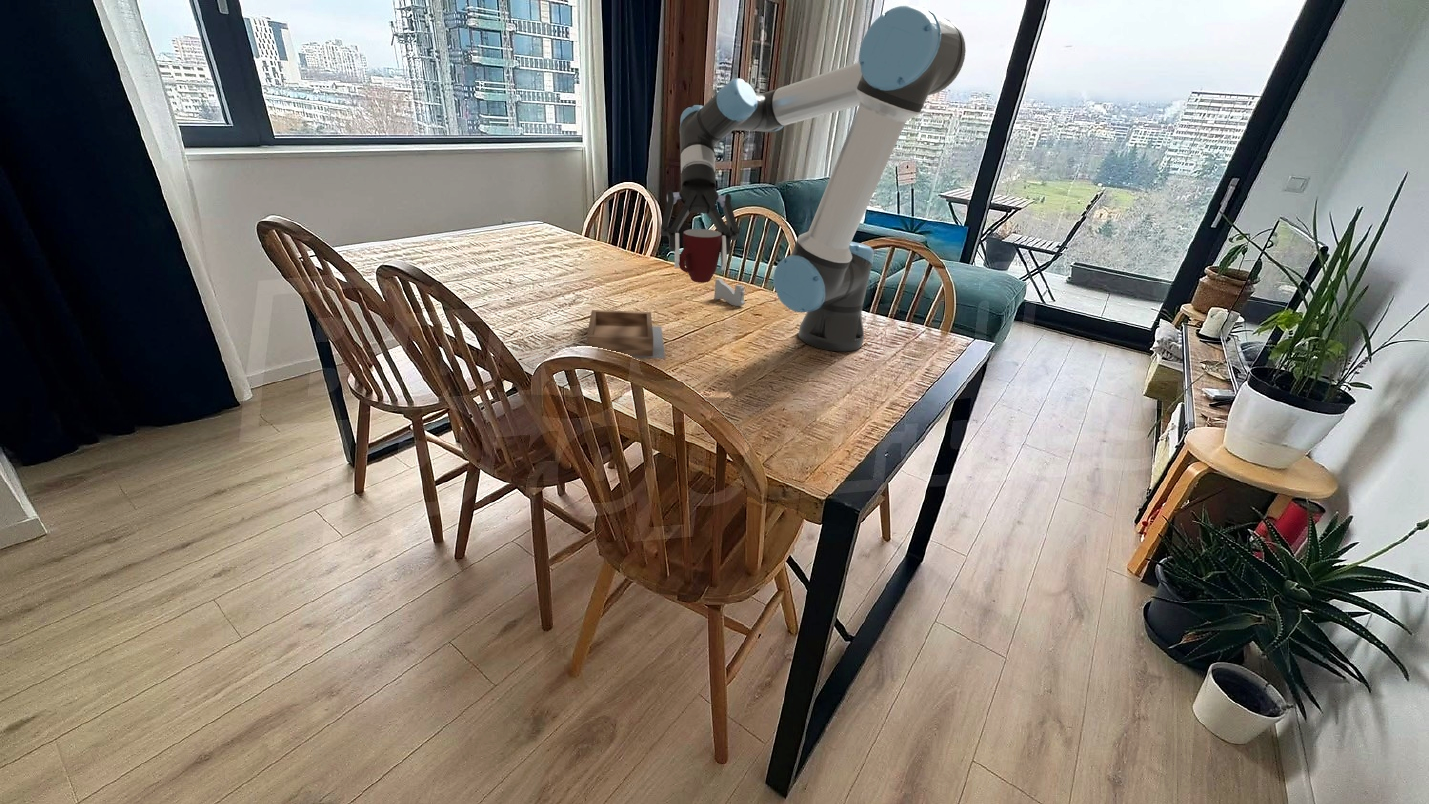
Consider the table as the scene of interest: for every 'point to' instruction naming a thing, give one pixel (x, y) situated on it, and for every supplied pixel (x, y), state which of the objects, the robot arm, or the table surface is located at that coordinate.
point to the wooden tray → (621, 332)
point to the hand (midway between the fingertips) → (700, 265)
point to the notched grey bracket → (729, 293)
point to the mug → (700, 253)
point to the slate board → (655, 344)
